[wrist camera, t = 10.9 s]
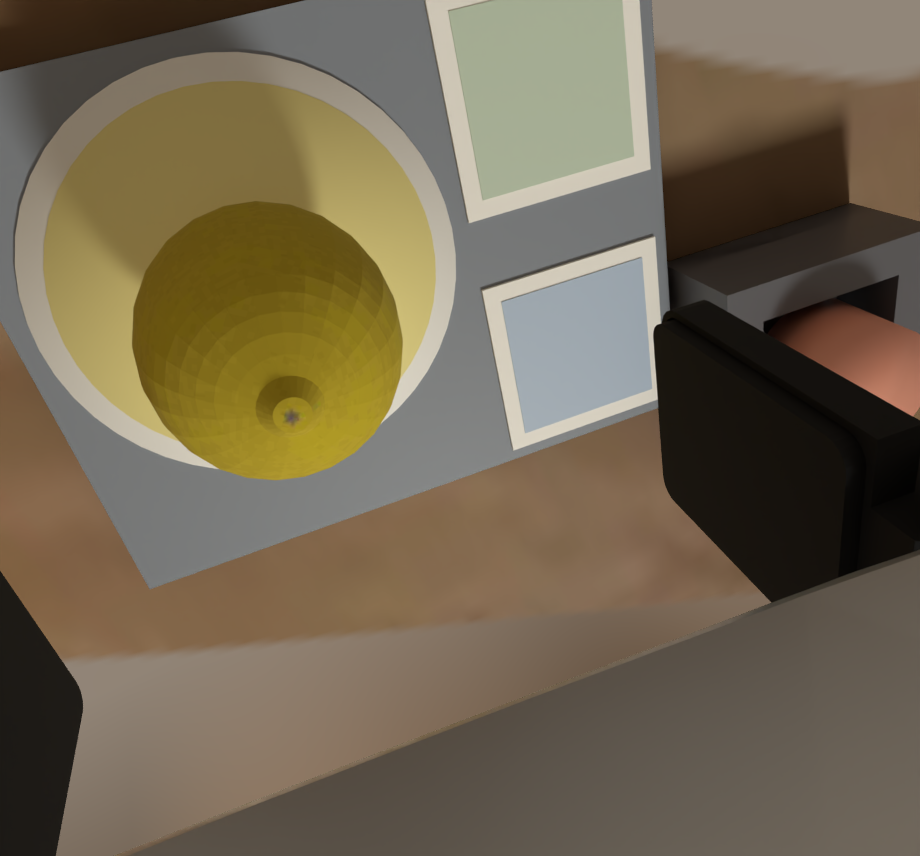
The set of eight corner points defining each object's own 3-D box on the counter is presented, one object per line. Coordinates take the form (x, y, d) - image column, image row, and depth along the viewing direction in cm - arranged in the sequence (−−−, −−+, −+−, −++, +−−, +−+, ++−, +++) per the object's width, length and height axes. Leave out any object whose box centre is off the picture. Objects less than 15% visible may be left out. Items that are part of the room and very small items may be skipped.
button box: (850, 203, 26) (936, 226, 23) (838, 386, 29) (910, 426, 26) (662, 263, 25) (727, 295, 22) (673, 446, 28) (730, 495, 25)
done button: (862, 281, 24) (941, 311, 22) (853, 389, 26) (925, 428, 24) (753, 318, 24) (821, 353, 21) (753, 426, 26) (815, 470, 23)
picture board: (626, -76, 20) (649, -81, 19) (659, 390, 27) (677, 403, 26) (-107, 97, 17) (-125, 101, 16) (151, 569, 24) (149, 591, 23)
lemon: (111, 193, 18) (67, 294, 11) (343, 158, 19) (431, 231, 12) (175, 401, 20) (170, 584, 14) (375, 359, 22) (461, 508, 15)
